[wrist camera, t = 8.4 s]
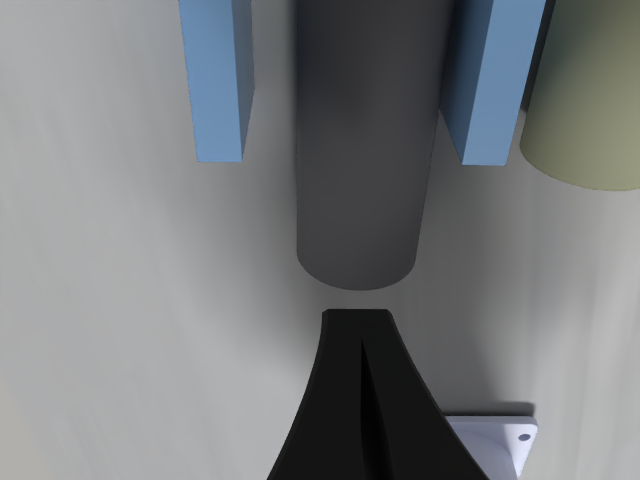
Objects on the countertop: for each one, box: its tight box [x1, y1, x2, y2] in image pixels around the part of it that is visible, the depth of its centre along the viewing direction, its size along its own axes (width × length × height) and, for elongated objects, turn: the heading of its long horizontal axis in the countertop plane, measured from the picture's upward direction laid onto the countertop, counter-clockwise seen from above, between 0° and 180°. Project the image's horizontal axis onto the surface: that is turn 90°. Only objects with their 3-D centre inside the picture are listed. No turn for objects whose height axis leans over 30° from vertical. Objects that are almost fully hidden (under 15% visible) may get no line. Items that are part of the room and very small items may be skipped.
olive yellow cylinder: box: [519, 0, 640, 191], centre depth 14 cm, size 6×4×4 cm, turn 178°
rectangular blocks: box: [179, 0, 546, 166], centre depth 14 cm, size 4×19×4 cm, turn 89°
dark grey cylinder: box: [297, 0, 456, 290], centre depth 15 cm, size 10×4×4 cm, turn 179°
